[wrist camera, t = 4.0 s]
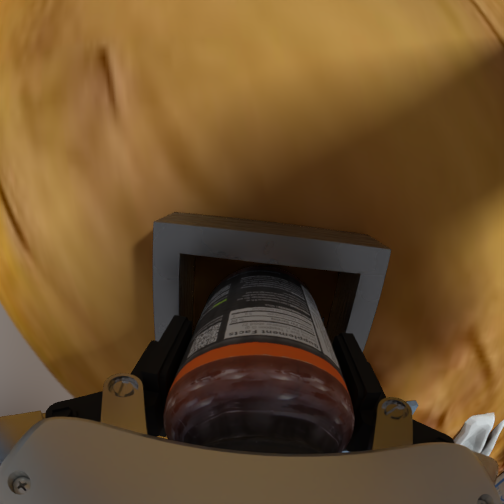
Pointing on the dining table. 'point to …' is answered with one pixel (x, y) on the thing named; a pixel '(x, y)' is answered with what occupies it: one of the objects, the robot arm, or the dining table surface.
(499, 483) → the supplement tub
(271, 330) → the supplement bottle
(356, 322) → the collar
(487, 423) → the cloth
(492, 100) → the dining table surface
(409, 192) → the dining table surface
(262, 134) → the dining table surface
